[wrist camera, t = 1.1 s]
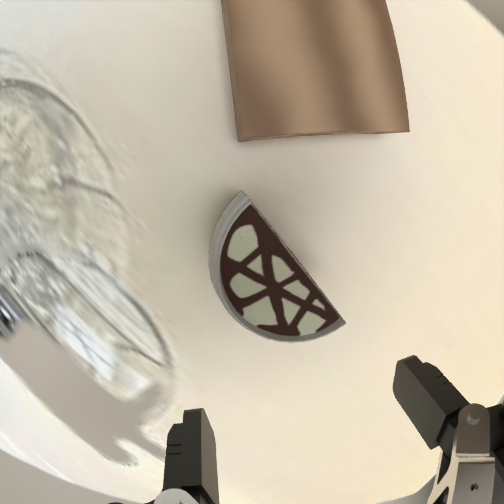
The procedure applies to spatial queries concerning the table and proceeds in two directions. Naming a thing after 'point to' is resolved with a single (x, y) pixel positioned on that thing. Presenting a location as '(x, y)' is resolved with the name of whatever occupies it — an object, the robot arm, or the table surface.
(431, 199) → the table surface
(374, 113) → the brown wooden block
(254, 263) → the half-round tin
